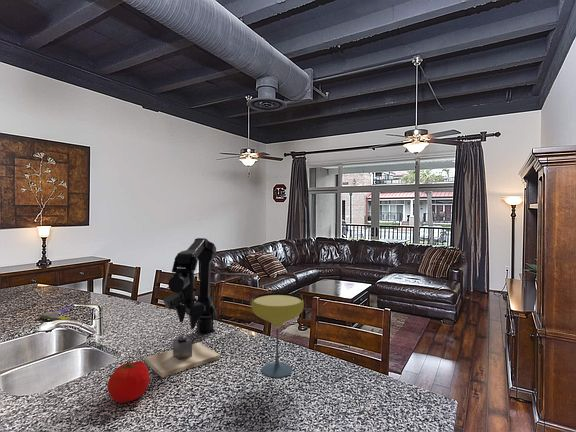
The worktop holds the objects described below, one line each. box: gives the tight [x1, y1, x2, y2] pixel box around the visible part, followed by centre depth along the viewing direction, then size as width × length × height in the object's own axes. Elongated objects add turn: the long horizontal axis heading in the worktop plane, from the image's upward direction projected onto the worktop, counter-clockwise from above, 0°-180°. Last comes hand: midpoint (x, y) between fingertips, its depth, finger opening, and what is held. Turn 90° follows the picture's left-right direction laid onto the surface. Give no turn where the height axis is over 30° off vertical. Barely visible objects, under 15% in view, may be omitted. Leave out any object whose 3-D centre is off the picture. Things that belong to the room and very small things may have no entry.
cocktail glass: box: [250, 292, 305, 379], centre depth 121 cm, size 18×18×25 cm
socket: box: [172, 334, 193, 360], centre depth 129 cm, size 5×5×7 cm
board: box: [144, 342, 221, 379], centre depth 129 cm, size 22×16×6 cm
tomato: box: [106, 360, 150, 404], centre depth 103 cm, size 11×13×10 cm
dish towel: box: [37, 303, 104, 320], centre depth 181 cm, size 18×24×3 cm
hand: (186, 325), depth 134 cm, fingers open, 9 cm apart
